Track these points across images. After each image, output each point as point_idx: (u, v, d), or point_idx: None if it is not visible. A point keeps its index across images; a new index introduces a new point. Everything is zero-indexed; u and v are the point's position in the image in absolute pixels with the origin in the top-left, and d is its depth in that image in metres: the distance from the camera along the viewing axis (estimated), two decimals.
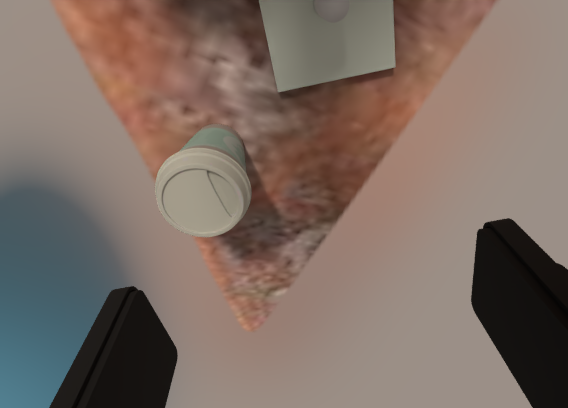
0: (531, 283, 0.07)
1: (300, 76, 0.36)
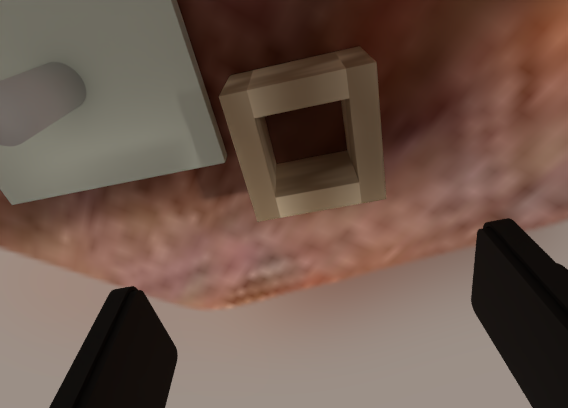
0: (531, 283, 0.07)
1: None
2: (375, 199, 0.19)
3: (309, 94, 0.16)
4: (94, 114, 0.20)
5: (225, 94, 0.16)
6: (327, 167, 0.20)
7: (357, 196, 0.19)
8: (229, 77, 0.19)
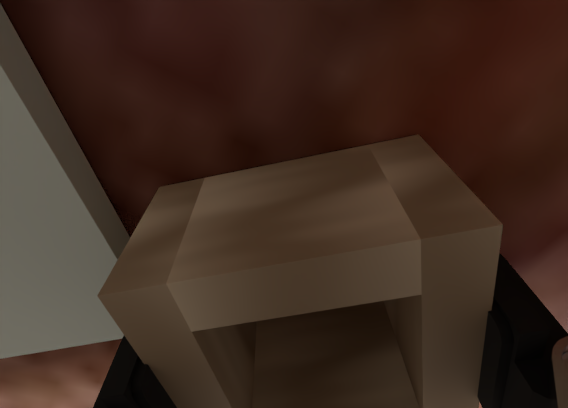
0: None
1: None
2: None
3: (323, 288, 0.06)
4: None
5: (116, 287, 0.07)
6: (351, 349, 0.11)
7: None
8: (156, 195, 0.09)
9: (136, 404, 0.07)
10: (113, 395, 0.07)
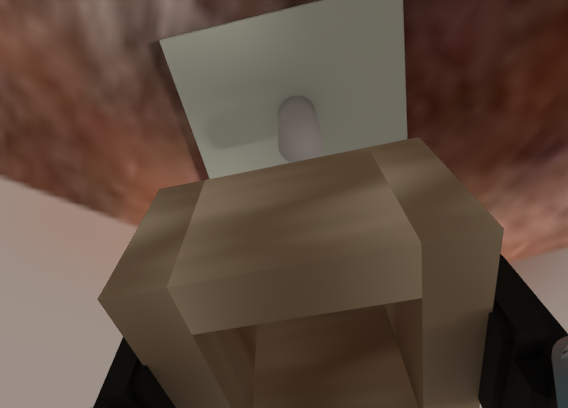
0: None
1: (191, 80, 0.22)
2: None
3: (324, 291, 0.06)
4: None
5: (116, 291, 0.07)
6: (351, 351, 0.11)
7: None
8: (156, 197, 0.09)
9: (136, 404, 0.07)
10: (113, 395, 0.07)
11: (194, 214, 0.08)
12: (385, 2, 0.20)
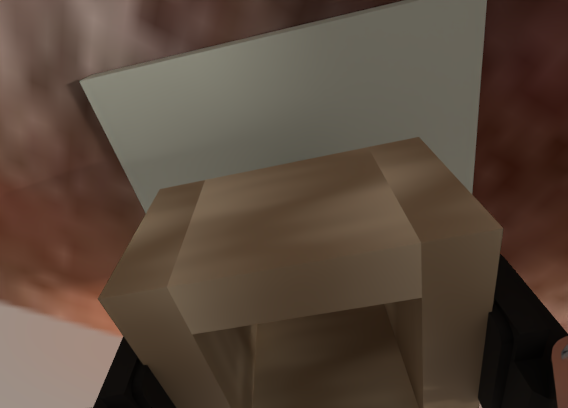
0: None
1: (137, 140, 0.14)
2: None
3: (324, 291, 0.06)
4: None
5: (116, 290, 0.07)
6: (351, 351, 0.11)
7: None
8: (156, 197, 0.09)
9: (136, 404, 0.07)
10: (113, 395, 0.07)
11: (194, 214, 0.08)
12: (455, 19, 0.12)
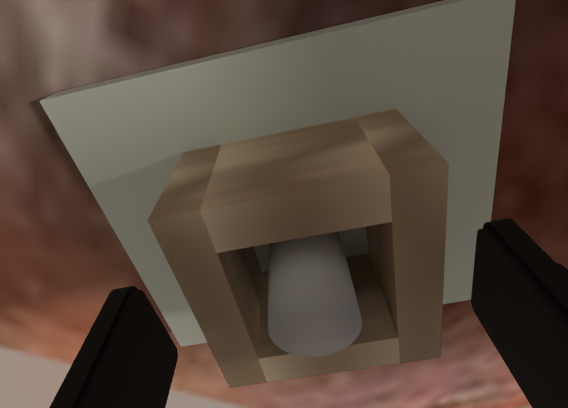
0: (530, 283, 0.07)
1: (110, 167, 0.12)
2: (422, 358, 0.12)
3: (318, 215, 0.09)
4: None
5: (160, 215, 0.09)
6: None
7: (393, 355, 0.11)
8: (181, 157, 0.12)
9: None
10: None
11: (215, 167, 0.10)
12: (478, 29, 0.10)
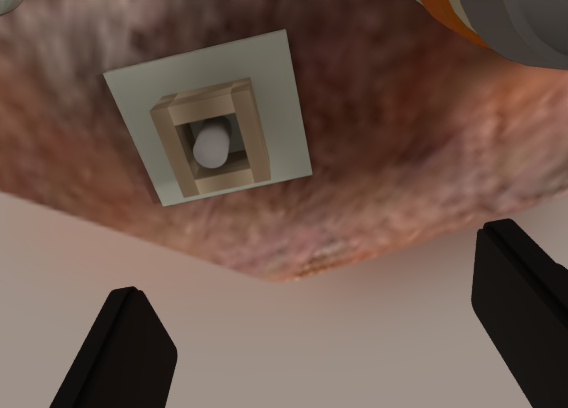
0: (531, 283, 0.07)
1: (130, 103, 0.28)
2: (263, 180, 0.28)
3: (209, 110, 0.25)
4: (233, 145, 0.30)
5: (153, 110, 0.25)
6: (234, 160, 0.29)
7: (251, 178, 0.28)
8: None
9: None
10: None
11: (174, 98, 0.26)
12: (275, 45, 0.27)
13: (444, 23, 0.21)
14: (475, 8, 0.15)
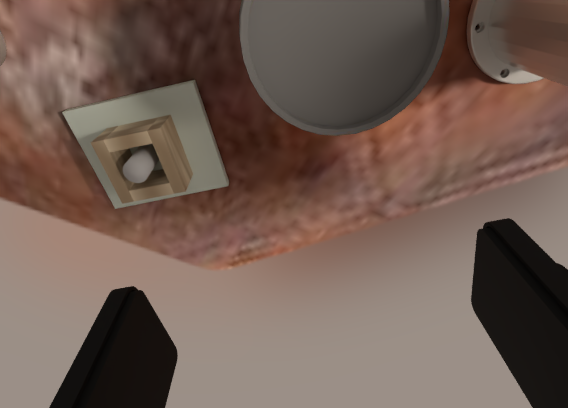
0: (531, 283, 0.07)
1: (84, 133, 0.38)
2: (180, 191, 0.37)
3: (133, 141, 0.34)
4: None
5: (94, 141, 0.34)
6: (162, 175, 0.39)
7: (170, 190, 0.37)
8: None
9: None
10: None
11: (112, 131, 0.36)
12: (186, 92, 0.36)
13: None
14: None
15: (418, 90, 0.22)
